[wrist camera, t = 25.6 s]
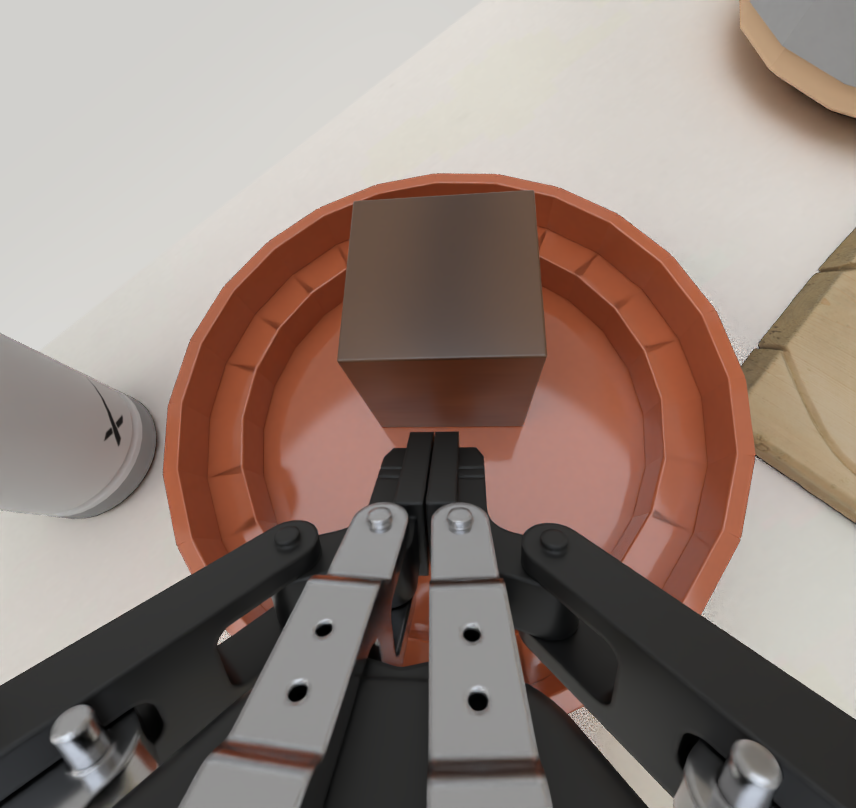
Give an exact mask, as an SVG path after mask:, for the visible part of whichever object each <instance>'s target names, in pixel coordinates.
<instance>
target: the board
mask: <svg viewBox="0 0 856 808" xmlns="http://www.w3.org/2000/svg"><path fill="white" fill-rule="evenodd" d="M819 271H820V273H816V274H815V275H813V276H812V278H811V279H810V280H809V281H808V282H807V284H806V285H805V286H804V288H803V289H802V290H801V291H800V292H799V293H798V295H797V296H796V297H795V298H794V300H793V301H792V302H791V303H790V305H789V306H788V307H787V309H786V310H785V311H784V312H783V314H782V315H781V316H780V317H779V319H778V320H777V321H776V322H775V323H774V324H773V326H772V327H771V328H770V330H769V331H768V332H767V334H766V335H765V336H764V337H763V338H762V340H761V341H760V343H759V347H760V349H754V350H753V351H752V353H751V354H750V355H749V357H748V358H747V359H746V361H745V362H744V363H743V365H742V366H741V369H742V371H743V373H744V375H745V379H746V383H747V391H748V399H749V407H750V414H751V422H752V430H753V438H754V446H755V454H756V455H757V456H758V457H760V458H761V459H762V460H764V461H765V462H767V463H768V464H770V465H771V466H773V467H774V468H775V469H777V470H778V471H780V472H781V473H783V474H784V475H786V476H787V477H789V478H790V479H791V480H794V481H796V482H797V483H798V484H800V485H801V486H802V487H803V488H804V489H806V490H807V491H809V492H810V493H812V494H813V495H815V496H816V497H818V498H819V499H821V500H823V501H824V502H825V503H827V504H828V505H830V506H831V507H832V508H834V509H835V510H837V511H838V512H840V513H842V514H843V515H844V516H845V517H847V518H849V519H850V520H852V521H853V522H855V523H856V228H855V230H854V231H853V232H852V233H851V234H850V235H849V236H848V237H847V238H846V239H845V240H844V241H843V242H842V243H841V245H840V246H839V247H838V248H837V249H836V250H835V251H834V252H833V253H832V254H831V256H830V257H829V258H828V259H827V260H826V261H825V262H824V264H823V265H822V266H821V267H820V268H819Z"/></svg>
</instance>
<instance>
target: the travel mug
mask: <svg viewBox="0 0 856 808" xmlns="http://www.w3.org/2000/svg"><path fill="white" fill-rule="evenodd" d="M155 447H156V431H155V426H154V422H153V419H152V417H151V415H150V413H149V411H148V410H147V409H146V408H145V407H144V406H143V404H141V403H140V402H138V401H137V400H135V399H134V398H132V397H130V396H128V395H126V394H124V393H122V392H120V391H118V390H115V389H113V388H111V387H109V386H107V385H105V384H103V383H101V382H99V381H97V380H95V379H93V378H91V377H89V376H87V375H85V374H83V373H81V372H79V371H77V370H75V369H73V368H71V367H69V366H67V365H64V364H62V363H60V362H58V361H56V360H54V359H52V358H50V357H48V356H46V355H44V354H42V353H40V352H38V351H36V350H34V349H32V348H29V347H28V346H26V345H24V344H22V343H20V342H17V341H15V340H13V339H11V338H9V337H7V336H5V335H3V334H1V333H0V510H1V511H10V512H19V513H27V514H36V515H47V516H53V517H62V518H71V519H79V518H88V517H92V516H96V515H99V514H101V513H103V512H106V511H108V510H110V509H112V508H113V507H115V506H116V505H118V504H119V503H121V502H122V501H124V500H125V499H126V498H127V497H128V496H129V495H130V494H131V493H132V492H133V491H134V490H135V489H136V488H137V486H138V485H139V484H140V483H141V481H142V480H143V478H144V477H145V475H146V473H147V471H148V470H149V468H150V465H151V462H152V460H153V457H154V452H155Z"/></svg>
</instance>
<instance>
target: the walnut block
mask: <svg viewBox="0 0 856 808" xmlns="http://www.w3.org/2000/svg"><path fill="white" fill-rule="evenodd" d="M546 358H547V345H546V333H545V320H544V307H543V295H542V282H541V269H540V257H539V244H538V231H537V219H536V206H535V193H534V190H523V191H507V192H491V193H475V194H459V195H443V196H427V197H411V198H395V199H379V200H363V201H354V202H353V210H352V220H351V230H350V239H349V249H348V259H347V268H346V278H345V288H344V298H343V307H342V317H341V327H340V336H339V346H338V356H337V362H338V363H339V365H340V366H341V368H342V369H343V371H344V372H345V374H346V375H347V377H348V378H349V380H350V381H351V383H352V384H353V386H354V387H355V388H356V390H357V391H358V393H359V394H360V396H361V397H362V399H363V400H364V402H365V403H366V405H367V406H368V408H369V409H370V411H371V412H372V414H373V415H374V416H375V418H376V419H377V421H378V422H379V424H380V425H381V427H483V426H523V424H524V422H525V419H526V416H527V413H528V410H529V407H530V404H531V401H532V398H533V395H534V392H535V390H536V387H537V384H538V381H539V378H540V375H541V372H542V369H543V366H544V363H545V360H546Z"/></svg>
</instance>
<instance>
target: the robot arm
mask: <svg viewBox="0 0 856 808" xmlns="http://www.w3.org/2000/svg"><path fill="white" fill-rule="evenodd" d="M429 566H430V568H431V580H430V582H429V662H424V663H419V664H415V665H410V666H405V667H402V665H403V661H404V656H405V651H406V647H407V642H408V637H409V633H410V628H411V624H412V619H413V614H414V610H415V605H416V589H417V584H418V576H429ZM270 597H271V598H272V601H273V604H274V606H273V607H272V608H270V609H269V610H268V611H266V612H265V613H263V614H262V615H261V616H259V617H258V618H256V619H255V620H254V621H252V622H251V623H249V624H248V625H246V626H245V627H244V628H242V629H241V630H239V631H238V632H237V633H235V634H234V635H232V636H231V637H230V638H228V639H227V640H225V641H224V642H223V643H221V644H219V645H217V642H218V640H219V637H220V636H221V634H222V633H223V632H224V630H225V629H226V628H227V627H229V626H230V625H231V624H233V623H234V622H236V621H237V620H238V619H240V618H241V617H243V616H244V615H246V614H247V613H249V612H250V611H251V610H253V609H254V608H256V607H257V606H259V605H260V604H262V603H263V602H264V601H266V600H267V599H269V598H270ZM514 629H515V630H518V631H519V635H520V637H521V639H522V641H523V643H524V644H525V645H526V646H527V647H528V648H529V649H530V650H531V651H532V653H533V654H534V655H535V656H536V657H537V658H538V659H539V660H540V661H541V662H542V663H543V664H544V665H545V666H546V667H547V668H548V669H549V670H550V671H551V672H552V673H553V674H554V675H555V676H556V677H557V678H558V679H559V680H560V681H561V683H562V684H563V685H564V686H565V687H566V688H567V689H568V690H569V691H570V692H571V693H572V694H573V695H574V696H575V697H576V698H577V699H578V700H579V701H580V702H581V703H582V704H583V705H584V706H585V707H586V708H587V709H588V710H589V711H590V713H591V714H592V715H593V716H594V717H595V718H596V719H597V720H598V721H599V722H600V723H601V724H602V725H603V726H604V727H605V728H606V729H607V730H608V731H609V732H610V733H611V734H612V735H613V736H614V737H615V738H616V739H617V740H618V742H619V743H620V744H621V745H622V746H623V747H624V748H625V749H626V750H627V751H628V752H629V753H630V754H631V755H632V756H633V757H634V758H635V759H636V760H637V761H638V762H639V763H640V764H641V765H642V766H643V767H644V768H645V769H646V770H647V772H648V773H649V774H650V775H651V776H652V777H653V778H654V779H655V780H656V781H657V782H658V783H659V784H660V785H661V786H662V787H663V788H664V789H665V790H666V791H667V792H668V793H669V794H670V795H671V796H672V797H673V798H674V802H673V808H856V720H855V719H854V718H852V717H851V716H849V715H848V714H846V713H845V712H844V711H842V710H841V709H839V708H838V707H836V706H835V705H833V704H832V703H830V702H829V701H827V700H826V699H824V698H823V697H821V696H820V695H818V694H817V693H815V692H814V691H812V690H811V689H809V688H808V687H806V686H805V685H803V684H802V683H800V682H799V681H798V680H796V679H795V678H793V677H792V676H790V675H789V674H787V673H786V672H784V671H783V670H781V669H780V668H778V667H777V666H775V665H774V664H772V663H771V662H769V661H768V660H766V659H765V658H763V657H762V656H760V655H759V654H757V653H756V652H754V651H753V650H752V649H750V648H749V647H747V646H746V645H744V644H743V643H741V642H740V641H738V640H737V639H735V638H734V637H732V636H731V635H729V634H728V633H726V632H725V631H723V630H722V629H720V628H719V627H717V626H716V625H714V624H713V623H711V622H710V621H708V620H707V619H706V618H704V617H703V616H701V615H700V614H698V613H697V612H695V611H694V610H692V609H691V608H689V607H688V606H686V605H685V604H683V603H682V602H680V601H679V600H677V599H676V598H674V597H673V596H671V595H670V594H668V593H667V592H665V591H664V590H662V589H661V588H659V587H658V586H657V585H655V584H654V583H652V582H651V581H649V580H648V579H646V578H645V577H643V576H642V575H640V574H639V573H637V572H636V571H634V570H633V569H631V568H630V567H628V566H627V565H625V564H624V563H622V562H621V561H619V560H618V559H616V558H615V557H613V556H612V555H611V554H609V553H608V552H606V551H605V550H603V549H602V548H600V547H599V546H597V545H596V544H594V543H593V542H591V541H590V540H588V539H587V538H585V537H584V536H582V535H581V534H579V533H578V532H576V531H575V530H573V529H571V528H569V527H567V526H564V525H561V524H556V523H541V524H537V525H534V526H532V527H530V528H529V529H527V530H526V531H525V533H524V534H523V535H522V534H518V533H514V532H511V531H508V530H505V529H503V528H501V527H500V526H498V525H497V524H495V523H494V522H493V521H492V520H491V518H490V517H489V515H488V511H487V498H486V482H485V467H484V456H483V455H482V453H481V452H480V451H479V450H478V449H477V447H460V444H459V431H450V432H435V435H434V432H410V435H409V439H408V443H407V447H406V448H393V449H392V450H391V451H390V452H389V453H388V454H387V455H386V456H384V458H383V461H382V464H381V469H380V471H379V474H378V478H377V480H376V483H375V486H374V489H373V492H372V495H371V498H370V502H369V505H368V506H365V507H364V508H362V509H360V510H359V511H358V512H357V513H356V514H355V515H354V517H353V518H352V521H351V523H350V525H349V527H347V528H344V529H341V530H338V531H333V532H329V533H324V534H320V535H319V534H318V530H317V528H316V526H315V525H313V524H312V523H310V522H308V521H303V520H292V521H287V522H283V523H281V524H278V525H276V526H274V527H272V528H271V529H269V530H267V531H265V532H264V533H262V534H260V535H258V536H257V537H255V538H253V539H252V540H250V541H248V542H246V543H245V544H243V545H241V546H240V547H238V548H236V549H234V550H233V551H231V552H229V553H228V554H226V555H224V556H222V557H221V558H219V559H217V560H216V561H214V562H212V563H210V564H209V565H207V566H205V567H203V568H202V569H200V570H198V571H197V572H195V573H193V574H191V575H190V576H188V577H186V578H185V579H183V580H181V581H179V582H178V583H176V584H174V585H173V586H171V587H169V588H167V589H166V590H164V591H162V592H161V593H159V594H157V595H155V596H154V597H152V598H150V599H148V600H147V601H145V602H143V603H142V604H140V605H138V606H136V607H135V608H133V609H131V610H130V611H128V612H126V613H124V614H123V615H121V616H119V617H118V618H116V619H114V620H112V621H111V622H109V623H107V624H106V625H104V626H102V627H100V628H99V629H97V630H95V631H93V632H92V633H90V634H88V635H87V636H85V637H83V638H81V639H80V640H78V641H76V642H75V643H73V644H71V645H69V646H68V647H66V648H64V649H63V650H61V651H59V652H57V653H56V654H54V655H52V656H51V657H49V658H47V659H45V660H44V661H42V662H40V663H38V664H37V665H35V666H33V667H32V668H30V669H28V670H26V671H25V672H23V673H21V674H20V675H18V676H16V677H14V678H13V679H11V680H9V681H8V682H6V683H4V684H2V685H1V686H0V808H648V807H647V805H646V804H645V803H644V802H643V801H642V800H641V798H640V797H639V796H638V795H637V794H636V793H635V791H634V790H633V789H632V788H631V787H630V786H629V785H628V783H627V782H626V781H625V780H624V779H623V778H622V776H621V775H620V774H619V773H618V772H617V771H616V769H615V768H614V767H613V766H612V765H611V764H610V763H609V761H608V760H607V759H606V758H605V757H604V756H603V754H602V753H601V752H600V751H599V750H598V749H597V747H596V746H595V745H594V744H593V743H592V742H591V741H590V739H589V738H588V737H587V736H586V735H585V734H584V732H583V731H582V730H581V729H580V728H579V727H578V725H577V724H576V723H575V722H574V721H573V720H572V719H571V717H570V716H569V715H568V714H567V713H566V712H565V711H564V710H563V709H562V708H561V707H560V706H558V705H557V704H556V703H555V702H554V701H553V700H552V699H550V698H549V697H547V696H546V695H545V694H543V693H542V692H541V691H539V690H537V689H536V688H534V687H532V686H531V685H529V684H527V683H525V682H524V677H523V672H522V667H521V662H520V657H519V652H518V646H517V641H516V636H515V631H514Z"/></svg>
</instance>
